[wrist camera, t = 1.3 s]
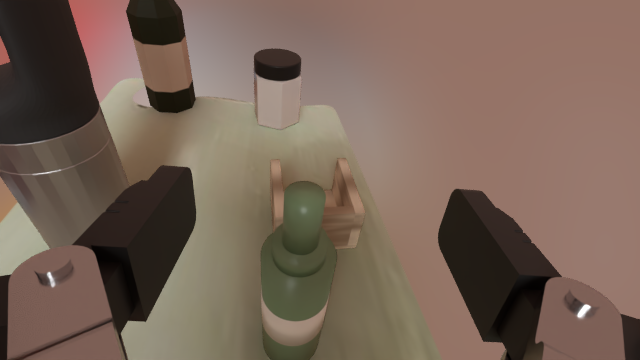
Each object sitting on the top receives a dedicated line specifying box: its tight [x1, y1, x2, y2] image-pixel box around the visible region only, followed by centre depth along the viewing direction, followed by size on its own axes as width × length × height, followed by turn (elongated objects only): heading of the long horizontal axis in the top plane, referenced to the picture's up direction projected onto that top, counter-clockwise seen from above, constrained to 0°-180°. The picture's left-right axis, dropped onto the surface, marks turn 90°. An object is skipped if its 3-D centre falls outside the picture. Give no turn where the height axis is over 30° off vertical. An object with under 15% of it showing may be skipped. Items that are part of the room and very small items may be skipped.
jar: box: [254, 49, 302, 130], centre depth 61 cm, size 9×8×12 cm
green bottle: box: [261, 181, 337, 360], centre depth 27 cm, size 6×6×20 cm
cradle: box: [270, 158, 365, 249], centre depth 44 cm, size 10×10×7 cm
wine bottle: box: [126, 0, 196, 113], centre depth 56 cm, size 8×8×30 cm
